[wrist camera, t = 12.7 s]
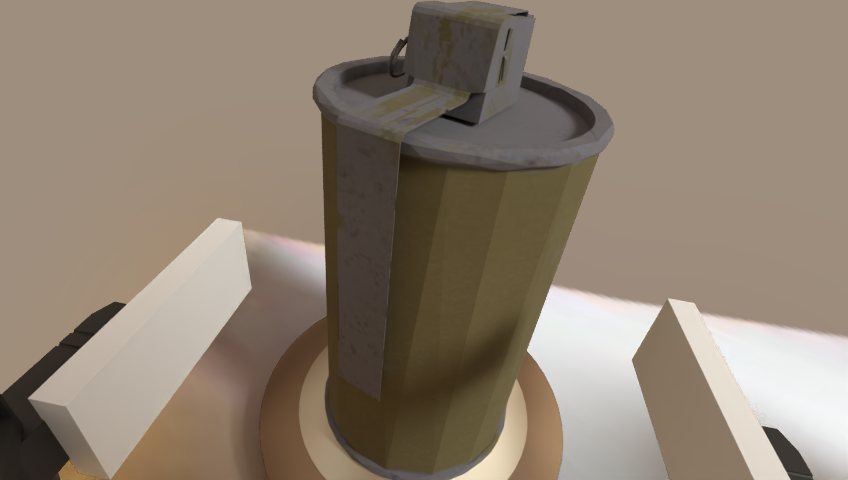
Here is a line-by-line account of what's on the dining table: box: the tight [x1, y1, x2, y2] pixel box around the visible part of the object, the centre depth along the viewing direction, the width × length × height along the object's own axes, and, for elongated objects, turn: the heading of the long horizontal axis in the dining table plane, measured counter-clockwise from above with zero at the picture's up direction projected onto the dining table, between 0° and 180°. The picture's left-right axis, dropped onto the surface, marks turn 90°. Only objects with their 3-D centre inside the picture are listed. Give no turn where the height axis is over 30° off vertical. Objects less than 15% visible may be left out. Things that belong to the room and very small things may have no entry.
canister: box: [313, 1, 614, 480], centre depth 19 cm, size 11×10×20 cm
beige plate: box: [260, 317, 563, 480], centre depth 25 cm, size 17×17×2 cm
